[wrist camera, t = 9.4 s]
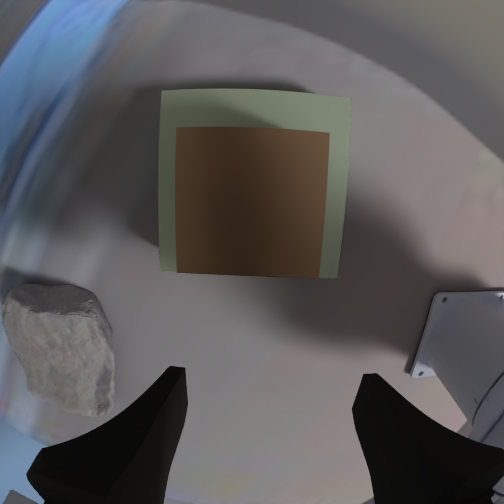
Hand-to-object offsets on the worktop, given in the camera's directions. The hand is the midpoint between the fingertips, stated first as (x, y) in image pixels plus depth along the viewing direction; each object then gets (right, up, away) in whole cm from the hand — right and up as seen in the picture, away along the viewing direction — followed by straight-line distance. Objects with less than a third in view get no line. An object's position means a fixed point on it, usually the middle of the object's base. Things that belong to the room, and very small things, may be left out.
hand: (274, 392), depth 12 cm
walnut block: (-1, +9, +4) cm, 10 cm away
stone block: (-16, -2, +12) cm, 20 cm away
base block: (-1, +10, +7) cm, 12 cm away
